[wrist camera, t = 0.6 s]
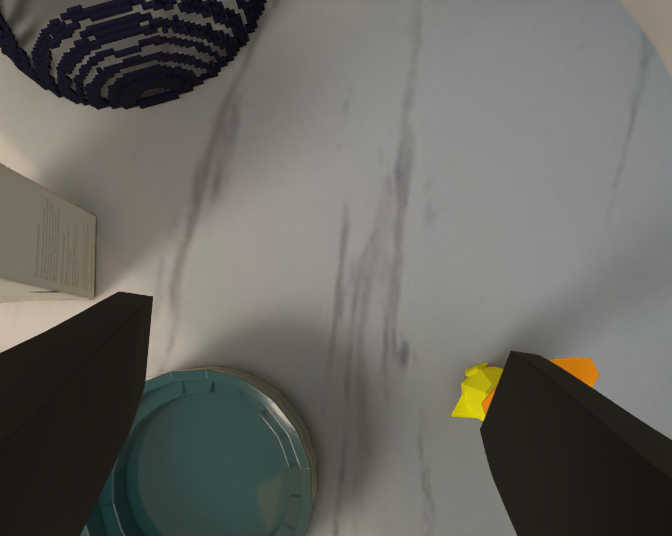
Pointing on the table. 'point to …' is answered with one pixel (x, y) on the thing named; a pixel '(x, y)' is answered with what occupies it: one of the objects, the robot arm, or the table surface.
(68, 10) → the decorative bowl
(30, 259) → the cosmetic box
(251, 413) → the glazed bowl
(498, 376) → the toy figure
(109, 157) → the table surface
